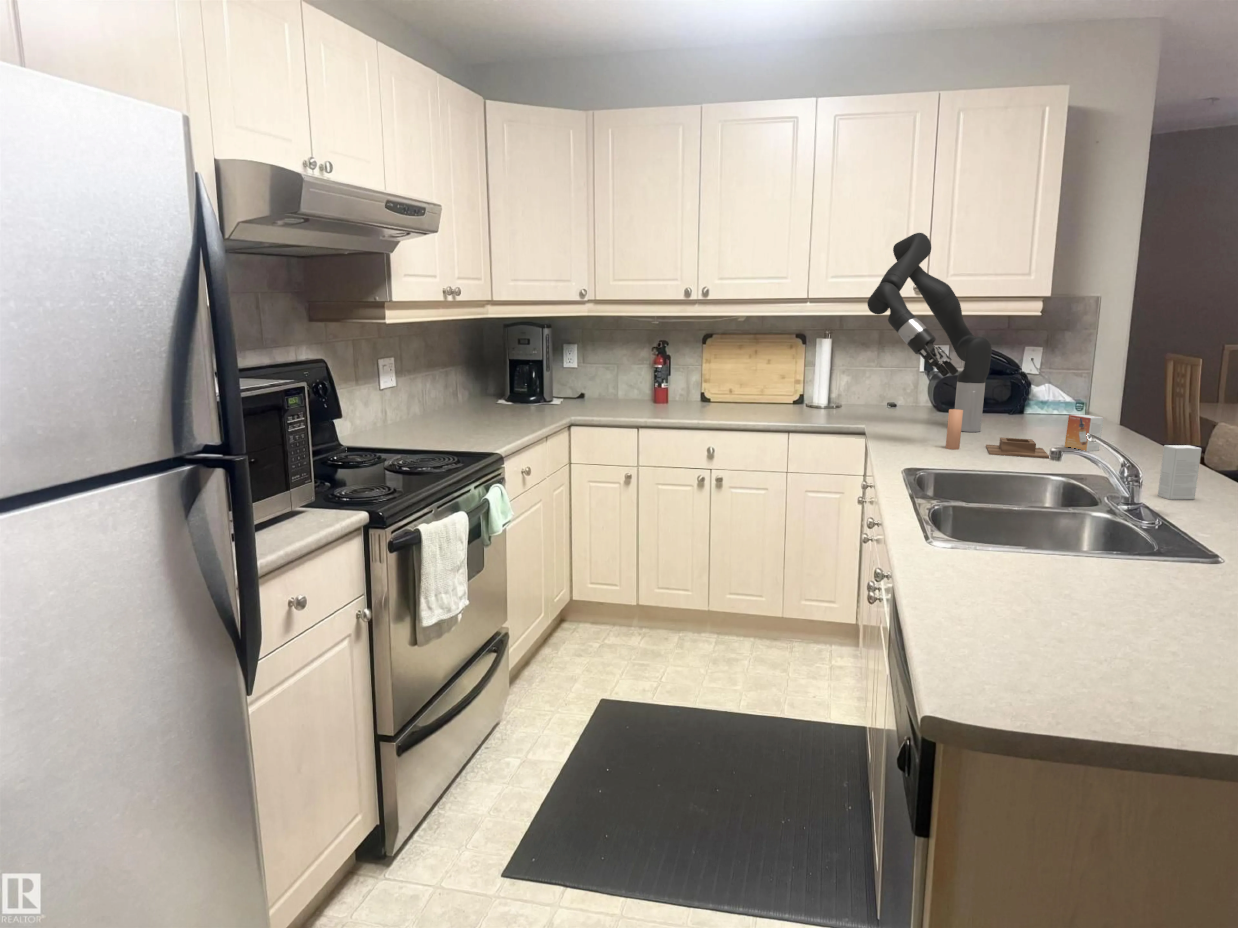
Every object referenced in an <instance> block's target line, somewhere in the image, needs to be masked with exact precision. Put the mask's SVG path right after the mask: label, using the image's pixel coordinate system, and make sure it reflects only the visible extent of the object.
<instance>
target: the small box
mask: <svg viewBox="0 0 1238 928" xmlns="http://www.w3.org/2000/svg"><path fill="white" fill-rule="evenodd" d="M1067 418H1068V419H1067V425H1066V435H1065V441H1064V448H1068V447H1071V448H1070V449H1073V448H1077V449H1081V450H1080V451H1082V450H1085V451H1084V452H1099V451H1100V447H1101V443H1100V444H1098V443H1094V442H1091V441H1089V440H1088V439H1087V436H1086V435H1087V433H1091V434H1094V435H1096V436H1097V437H1099V438H1102V431H1103V426H1104V424H1103V423H1104V417H1102V416H1093V415H1088V414H1081V413H1080V414H1079V413H1076V414H1069V415H1068V417H1067ZM1077 449H1076V450H1077Z"/></svg>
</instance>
